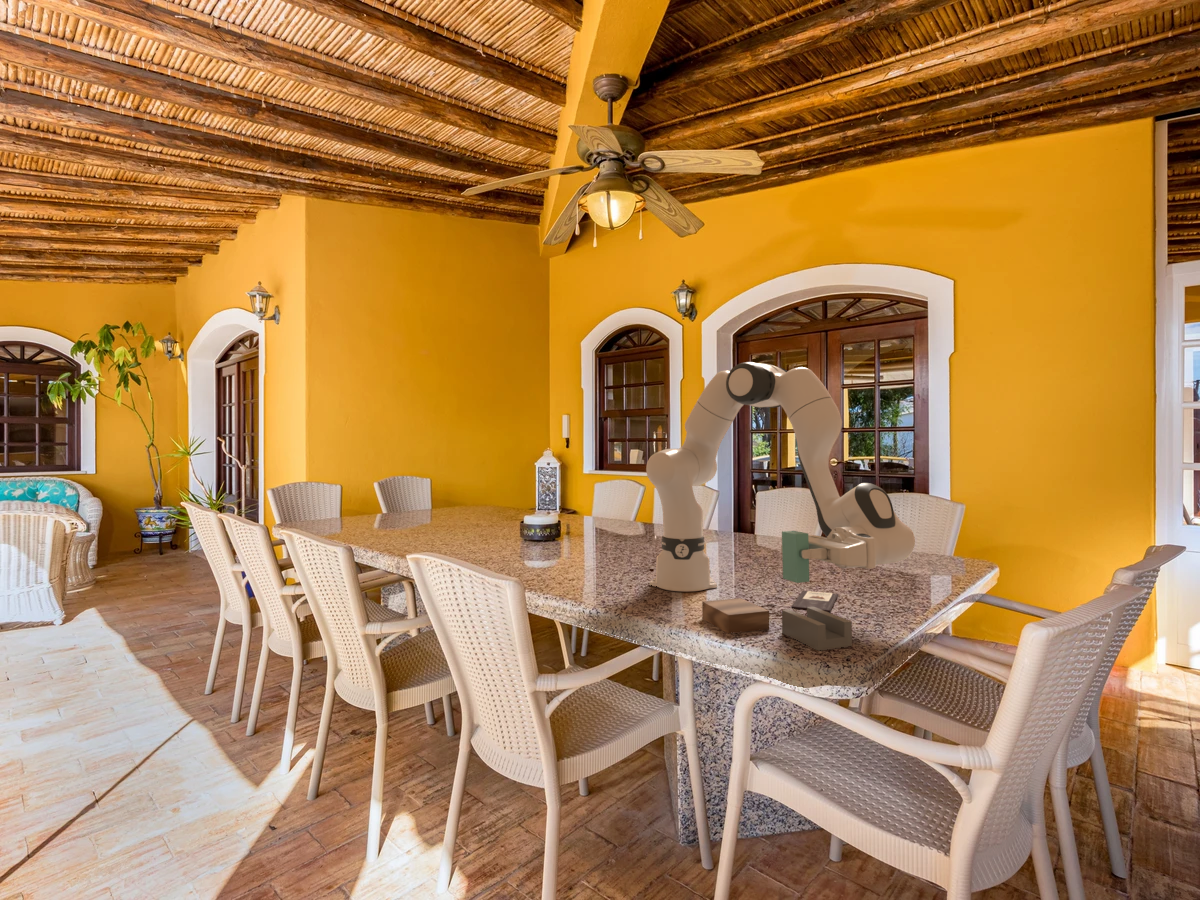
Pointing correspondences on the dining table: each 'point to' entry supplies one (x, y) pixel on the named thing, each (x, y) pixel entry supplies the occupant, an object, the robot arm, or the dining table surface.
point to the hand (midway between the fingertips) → (791, 551)
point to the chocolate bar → (815, 600)
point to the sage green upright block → (795, 556)
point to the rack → (817, 628)
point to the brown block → (735, 615)
